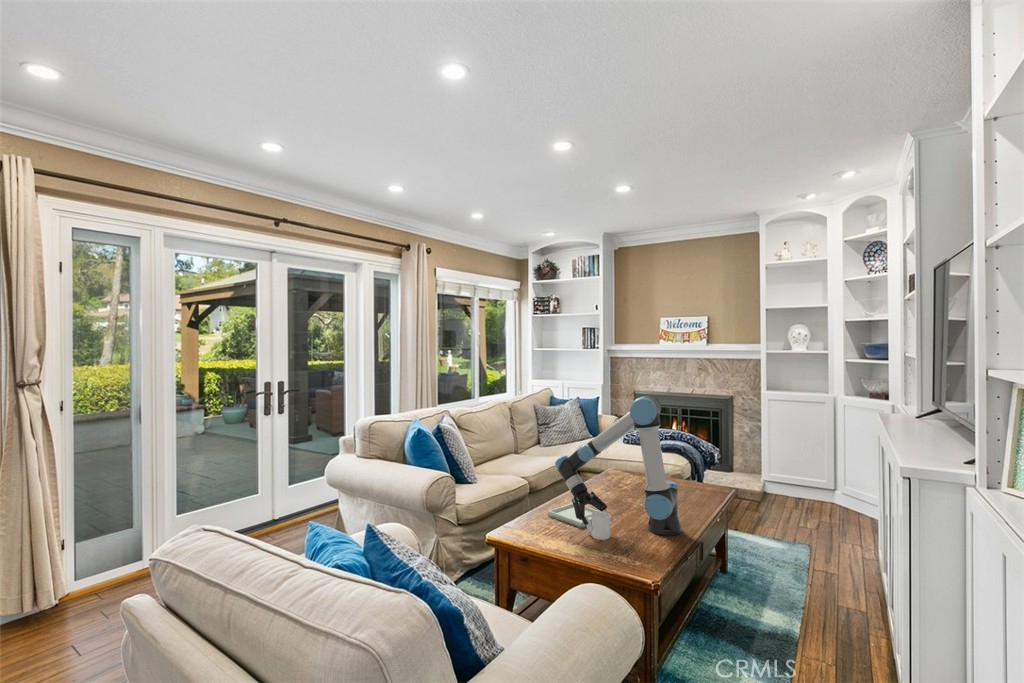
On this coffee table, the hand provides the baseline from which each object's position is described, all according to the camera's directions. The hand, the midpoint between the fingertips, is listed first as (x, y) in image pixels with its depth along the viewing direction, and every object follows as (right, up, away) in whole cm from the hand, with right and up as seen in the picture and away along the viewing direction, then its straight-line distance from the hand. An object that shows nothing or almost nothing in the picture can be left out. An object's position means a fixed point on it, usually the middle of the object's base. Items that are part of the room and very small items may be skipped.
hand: (601, 527), depth 231 cm
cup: (-2, -5, +2) cm, 5 cm away
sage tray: (-8, -4, +26) cm, 27 cm away
